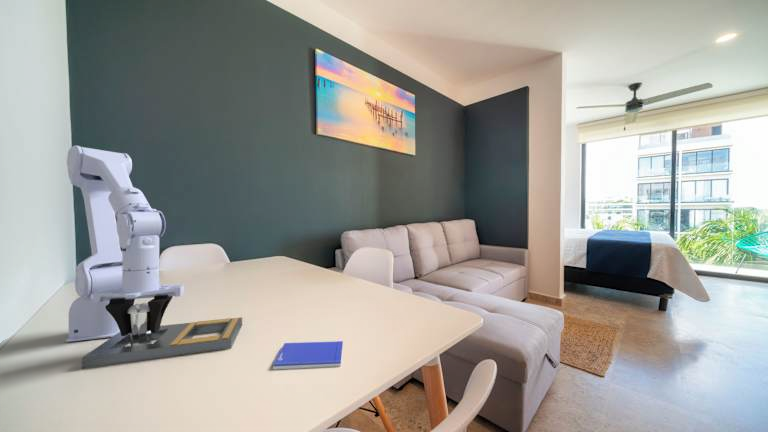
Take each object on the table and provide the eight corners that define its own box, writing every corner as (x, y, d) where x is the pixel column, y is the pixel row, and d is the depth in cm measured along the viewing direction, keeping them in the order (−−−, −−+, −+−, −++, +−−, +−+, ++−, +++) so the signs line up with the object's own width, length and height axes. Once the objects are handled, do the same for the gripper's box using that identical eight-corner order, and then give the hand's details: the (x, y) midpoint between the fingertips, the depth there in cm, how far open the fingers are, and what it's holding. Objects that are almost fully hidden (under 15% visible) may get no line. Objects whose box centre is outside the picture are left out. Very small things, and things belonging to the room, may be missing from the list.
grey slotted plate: (81, 368, 47) (81, 356, 47) (122, 338, 59) (122, 328, 59) (231, 348, 55) (231, 338, 55) (242, 325, 67) (242, 316, 67)
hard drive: (272, 363, 48) (340, 361, 49) (284, 341, 56) (342, 340, 57) (272, 372, 48) (340, 369, 49) (284, 349, 56) (342, 347, 58)
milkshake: (121, 356, 52) (121, 305, 52) (131, 344, 56) (132, 297, 56) (150, 351, 54) (151, 302, 54) (158, 339, 58) (159, 295, 58)
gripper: (81, 274, 49) (81, 346, 49) (174, 270, 53) (174, 336, 54) (107, 267, 55) (106, 330, 56) (188, 263, 60) (187, 322, 60)
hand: (141, 332), depth 55 cm, fingers closed on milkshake, 4 cm apart
